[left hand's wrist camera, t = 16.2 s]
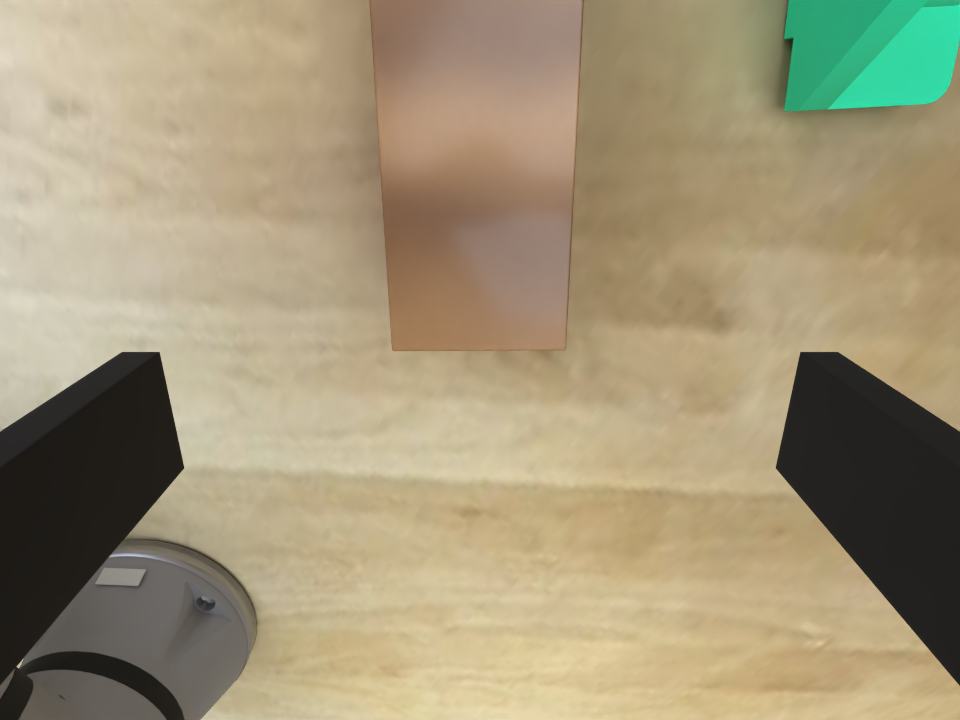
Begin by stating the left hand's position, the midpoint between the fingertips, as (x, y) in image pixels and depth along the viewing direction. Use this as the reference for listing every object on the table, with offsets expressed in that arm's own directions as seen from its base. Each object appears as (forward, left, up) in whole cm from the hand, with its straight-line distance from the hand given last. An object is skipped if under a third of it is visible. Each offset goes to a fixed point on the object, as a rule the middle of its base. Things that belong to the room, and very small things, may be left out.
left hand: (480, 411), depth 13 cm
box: (+7, +1, -26) cm, 26 cm away
